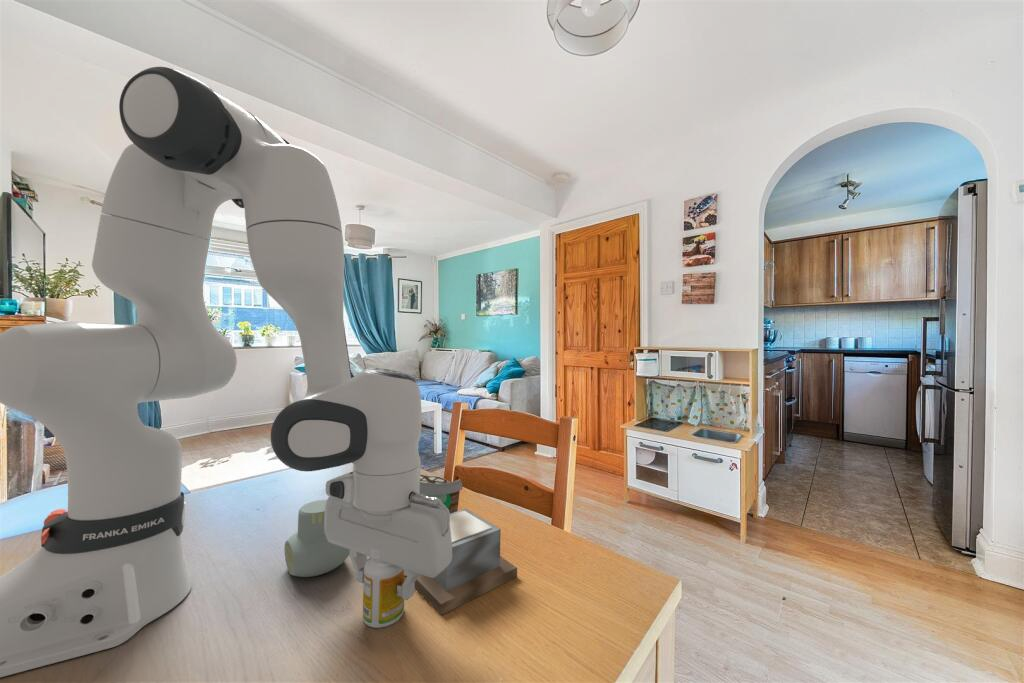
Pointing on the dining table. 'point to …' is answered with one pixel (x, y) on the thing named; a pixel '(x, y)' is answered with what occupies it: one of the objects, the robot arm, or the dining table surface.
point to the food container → (442, 490)
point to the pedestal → (467, 564)
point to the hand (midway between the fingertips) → (384, 588)
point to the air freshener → (312, 544)
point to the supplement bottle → (381, 592)
